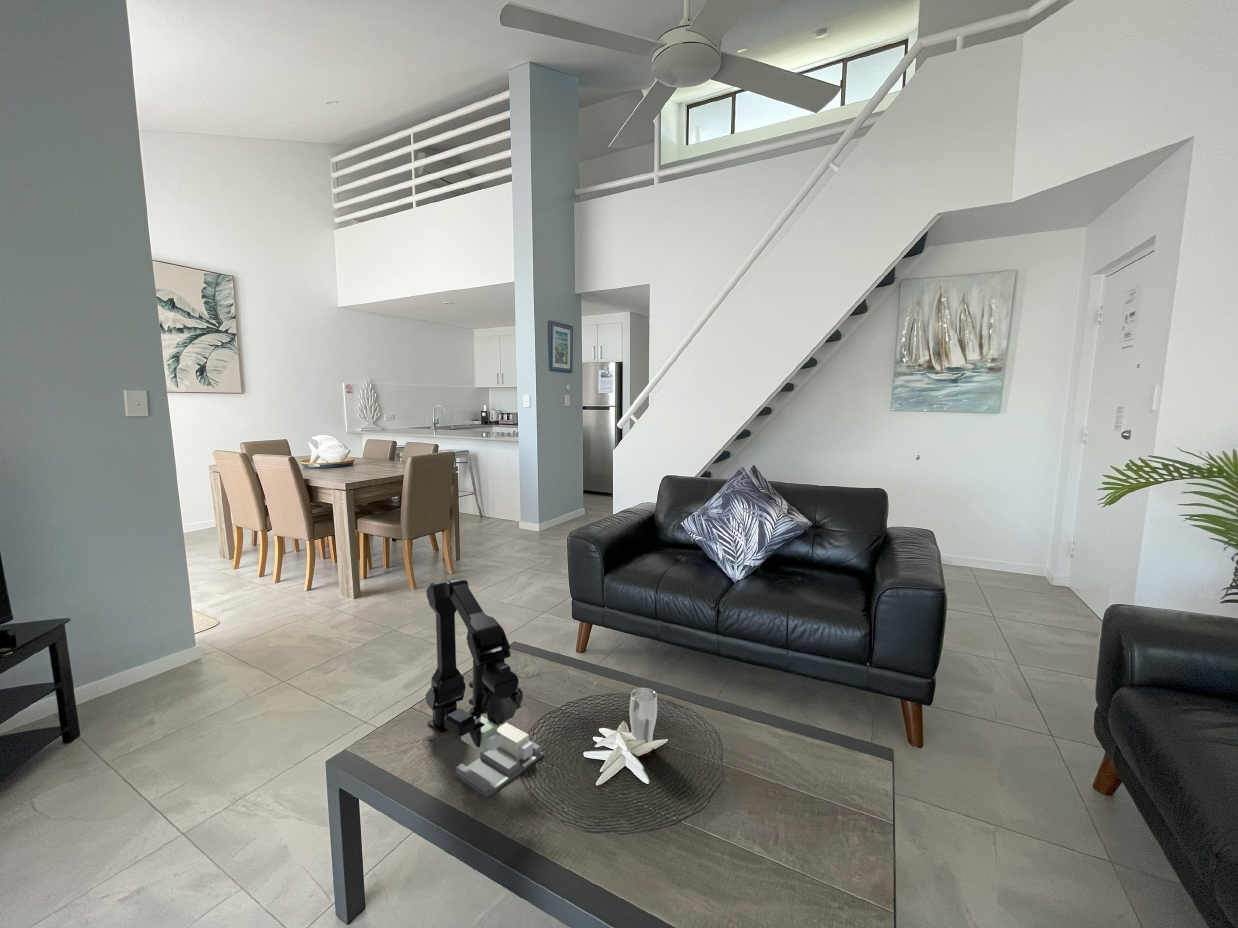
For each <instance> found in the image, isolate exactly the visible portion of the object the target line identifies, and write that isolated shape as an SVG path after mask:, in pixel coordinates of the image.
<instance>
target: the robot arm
mask: <svg viewBox="0 0 1238 928" xmlns="http://www.w3.org/2000/svg"><path fill="white" fill-rule="evenodd" d="M426 599H427V601H428V605H429V606H430V608H431V610H432V611H433V612H434V613H435V627H436V657H437V659H436V660H437V661H436V662H437V664H436V665H437V667H436V669H435V671H434V673H433V675H432V676H431V685H430V686H431V687H430V688H429V689H428V691H427V692H426V693H425V702H426V704H427V705H428V706H429V708H430V709H431V711H432V718H431V719H430V720H428V721H427V725H428V726H430V727H431V728H433V729H435V730H436V731H439V733H440V734H441V733H444V732H447V731H449V732H451V733H453V734H454V735H456V736H458V737H461V736H464V735H465V734H467V733H469V734H470V736H471V738H472V740H473V742H474V744H475V746H477V747H480V742H481V728H482V727H483V726H484V725H485V724H483V723H482V722H481V716H483V715H487V717H486V718H487V719H488V720H490V721H492V722H493V723H495V724H497V729H498V727H500V725H503V724H505V723H506V722H508V720H510V719H513V718H514V717H515V715H516V714H515V713H516V711H518V710H519V709H520V708H521V706H522V705H521V704H522V701H523V699H524V698H523V694H524V693H523V690H522V688H520V687H518V686H519V678H518V675H517V674H516V673H515V672H514V671H513V670H511V666H510V665H509V664H508V663H506V662H505V661H506V660H505V659H508V658H511V656H512V655H511V652H510V649H511V646H510V643H509V641H508V638H507V635H506V631H505V630H504V628H503V627H502V626H501V624H500V623H499V622H498V621H497V620H496V618H494V617H493V616H490V615H487V614H486V613H485V612H484V611H483V609H482V607H481V605H480V604H479V602H478V600H477V598H476V597H475V596H474V594H473V592H472V591H471V589H470V588H469V583H468V580H467V579H466V578H462V577H461V578H458V579H456V578H452V579H451V578H450V579H446V580H445V579H444V580H439V581H436V582H435V581H434V582H431V583H430V585H429V586H428V587H427V588H426ZM457 612H458V614H459V617H460V618H461V620H462V621H463V623H464V625H465V627H466V629H467V634H466V638H465V639H466V642H467V646H468V648H469V651H470V654H471V657H472V680H471V681H469V682H468V683H469V684H468V687H469V688H471V689H472V697H471V698H470V699H468V704H469V705H471V706H472V707H471V708H470V709H468V711H466V710H464V709H462V708H461V707H459V708H458V703H459V702H461V701H463V700H464V697H465V692H466V682H465V677H464V675H463V674H462V673H461V672H460V670H459V669H458V668H457V650H456V648H457V647H456V645H457V643H456V642H457V641H456V640H457V639H456V613H457ZM500 648H501V649H500ZM495 649H500V650H496V651H493V650H495ZM457 702H458V703H457Z"/></svg>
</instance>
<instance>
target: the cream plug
mask: <svg viewBox="0 0 1238 928" xmlns="http://www.w3.org/2000/svg"><path fill="white" fill-rule="evenodd" d="M497 732H499V733H501V746H499V747H498V748H499V749H500V750H502V751H504V752H505V753H507V754H509V755H510V756H512V757H514V758H515V759H517V760H520V759H523V760H525V759H526V758H528V757H529V756H530V755H532V754H533V743H531V742H530V741H531V740H530V738H529V737H530V735H529V734H528V733H526V732H525V731H523V730H521V729H519V728H517V727H516V726H515V725H512V724H510V723H507V722H504V723H503V724H501V725H499V726H498V729H497ZM529 740H530V741H529Z"/></svg>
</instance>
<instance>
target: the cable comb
mask: <svg viewBox="0 0 1238 928" xmlns="http://www.w3.org/2000/svg"><path fill="white" fill-rule="evenodd" d="M529 741H530V742H531V743H533V754H532V755H530V756H529V757H528V758H526V759H525V760H523V759H520V760H517V759H515V758H514V757H512V756H510V755H509V754H507V753H505V752H504V751H502V750H500V749H499V748H496V749H495V750H493V751H490V750H488V751H487V752H485V753H484V754H483V753H482V752H480V751H479V758H477V759H475V760H474V761H472V762H471V763H470V764H467V766H466V765H465V764H464V763H459V765H457V766H456V769H455V774H454V775H455V777H456V779H459V780H460V781H462V783H464V784H466V785H468V786H469V787H471V788H472V789H473V790H475V791H476V792H477V793H479V794H481V796H484V797H485V798H487V799H488V798H489V797H490V796H492V795H493V794H494V793H495V792H497V791H498V790H499V789H501V788H502V787H504V786H505V785H507V784H508V783H509V782H510V781H512V780H513V779H514V778H516V777H517V776H518V775H520V774H521V773H523V772H524V771H525V770H526V769H528V768H529V767H530V766H532V765H533V764H534V763H535V762H538V760H539V759H541V758H543V757H544V756H545V753H544V752H542V751H541V746H540V745H539V744H537V743H536V742H534V741H532V740H530V739H529Z"/></svg>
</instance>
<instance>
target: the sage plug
mask: <svg viewBox="0 0 1238 928" xmlns="http://www.w3.org/2000/svg"><path fill="white" fill-rule="evenodd" d="M481 722H482V723H483V724H485V725H484V726H483V727H482V728H481V742H480V747H477V746H475V744H474V742H473V740H472V738H471V736H470V734H469V733H467V734H465V735H464V736H460V740H461V741H462V742H463V743H466V744H467V745H469V746H470V747H472V748H474V749H475V750H477V751H479V753H480V752H482V753H483V754H484V753H485V752H487V751H488V750H490V751H493V750H495V749H496V748H498V747H499V746H501V733H499V732H497V724H495V723H493V722H492V721H490V720H488V718H487V717H484V716H483V715H481Z"/></svg>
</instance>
